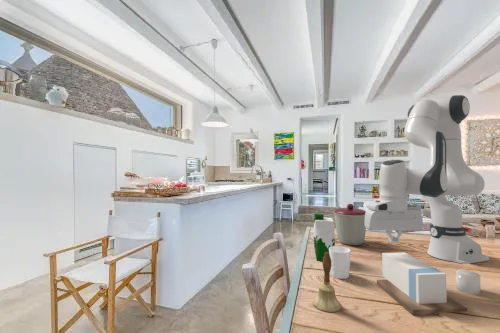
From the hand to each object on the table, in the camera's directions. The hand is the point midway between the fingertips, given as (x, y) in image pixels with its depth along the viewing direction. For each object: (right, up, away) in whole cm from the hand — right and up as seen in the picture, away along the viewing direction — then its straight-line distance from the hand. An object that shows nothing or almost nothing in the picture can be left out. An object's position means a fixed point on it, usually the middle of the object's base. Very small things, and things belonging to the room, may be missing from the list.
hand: (393, 241), depth 89 cm
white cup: (-18, -15, +5) cm, 24 cm away
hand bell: (-29, -15, -15) cm, 36 cm away
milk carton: (-19, -14, +22) cm, 32 cm away
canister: (+2, -14, +44) cm, 46 cm away
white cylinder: (+19, -14, -9) cm, 25 cm away
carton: (0, -8, 0) cm, 8 cm away
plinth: (+1, -14, -12) cm, 18 cm away
